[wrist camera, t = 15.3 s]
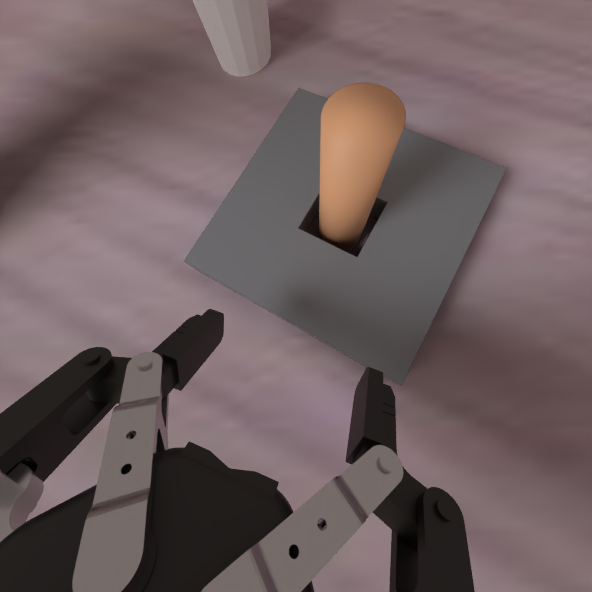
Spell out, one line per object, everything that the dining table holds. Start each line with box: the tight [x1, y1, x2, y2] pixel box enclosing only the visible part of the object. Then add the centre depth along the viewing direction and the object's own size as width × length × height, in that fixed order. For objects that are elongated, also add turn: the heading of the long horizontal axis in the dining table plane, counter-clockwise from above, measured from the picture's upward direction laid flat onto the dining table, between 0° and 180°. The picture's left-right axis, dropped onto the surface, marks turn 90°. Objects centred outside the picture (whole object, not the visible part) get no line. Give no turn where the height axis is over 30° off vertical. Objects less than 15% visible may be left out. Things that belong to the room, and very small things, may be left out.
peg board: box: [184, 88, 507, 385], centre depth 20 cm, size 18×18×2 cm
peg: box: [319, 83, 406, 251], centre depth 16 cm, size 4×4×11 cm
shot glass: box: [193, 0, 271, 77], centre depth 23 cm, size 7×7×7 cm
